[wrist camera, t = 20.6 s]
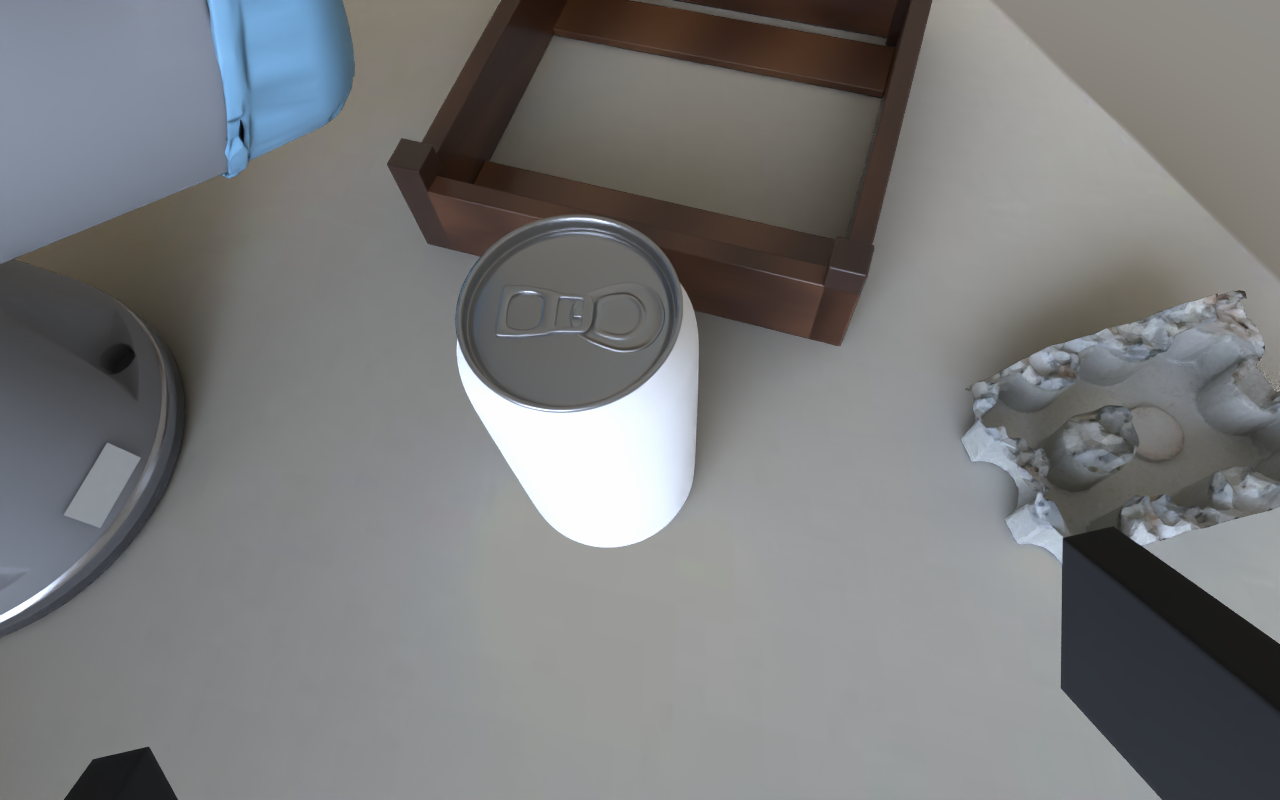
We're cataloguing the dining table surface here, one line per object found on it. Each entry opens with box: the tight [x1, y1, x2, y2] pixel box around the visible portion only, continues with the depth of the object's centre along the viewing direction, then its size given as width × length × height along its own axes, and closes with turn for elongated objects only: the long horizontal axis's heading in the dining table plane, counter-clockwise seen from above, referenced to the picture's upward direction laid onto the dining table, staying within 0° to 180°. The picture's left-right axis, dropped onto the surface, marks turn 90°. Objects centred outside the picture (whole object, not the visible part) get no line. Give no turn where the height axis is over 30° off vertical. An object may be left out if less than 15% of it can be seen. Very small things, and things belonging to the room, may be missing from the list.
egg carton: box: [961, 290, 1280, 564], centre depth 27 cm, size 11×8×4 cm
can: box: [456, 214, 699, 547], centre depth 24 cm, size 6×6×12 cm
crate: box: [387, 0, 932, 346], centre depth 34 cm, size 19×19×5 cm
